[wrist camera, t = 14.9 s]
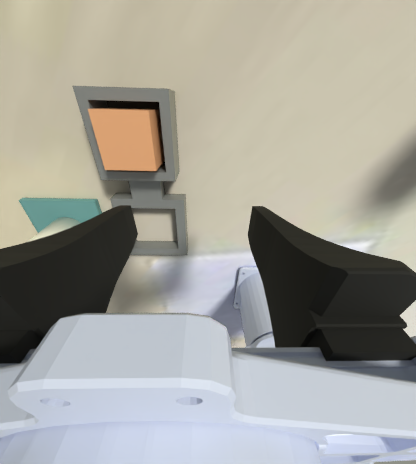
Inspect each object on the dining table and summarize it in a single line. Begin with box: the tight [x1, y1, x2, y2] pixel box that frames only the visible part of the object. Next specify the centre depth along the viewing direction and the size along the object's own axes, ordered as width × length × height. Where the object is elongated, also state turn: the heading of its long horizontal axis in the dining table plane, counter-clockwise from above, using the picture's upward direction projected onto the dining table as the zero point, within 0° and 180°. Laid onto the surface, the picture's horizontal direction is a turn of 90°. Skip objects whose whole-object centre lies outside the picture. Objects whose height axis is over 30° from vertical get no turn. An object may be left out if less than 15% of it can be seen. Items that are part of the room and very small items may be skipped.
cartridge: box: [27, 217, 80, 242], centre depth 19 cm, size 4×4×8 cm
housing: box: [73, 86, 188, 255], centre depth 19 cm, size 16×8×3 cm, turn 179°
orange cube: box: [88, 108, 165, 171], centre depth 15 cm, size 4×4×4 cm
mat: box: [19, 198, 102, 233], centre depth 22 cm, size 8×8×1 cm
